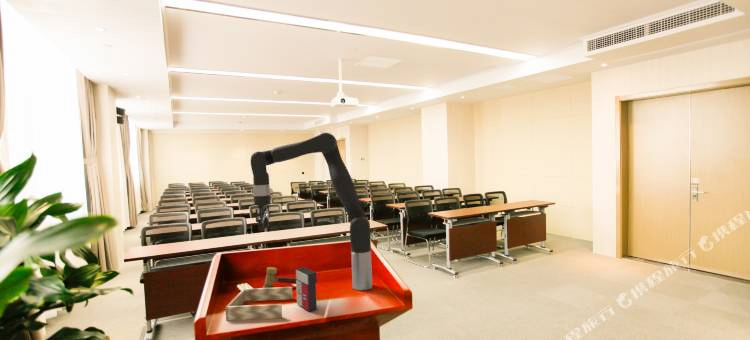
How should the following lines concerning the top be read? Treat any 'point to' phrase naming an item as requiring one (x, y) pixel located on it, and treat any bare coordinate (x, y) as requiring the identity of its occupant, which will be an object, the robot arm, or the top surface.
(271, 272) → the gavel
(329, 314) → the top surface
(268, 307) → the beige piece
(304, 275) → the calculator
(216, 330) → the top surface
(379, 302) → the top surface
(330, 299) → the top surface
